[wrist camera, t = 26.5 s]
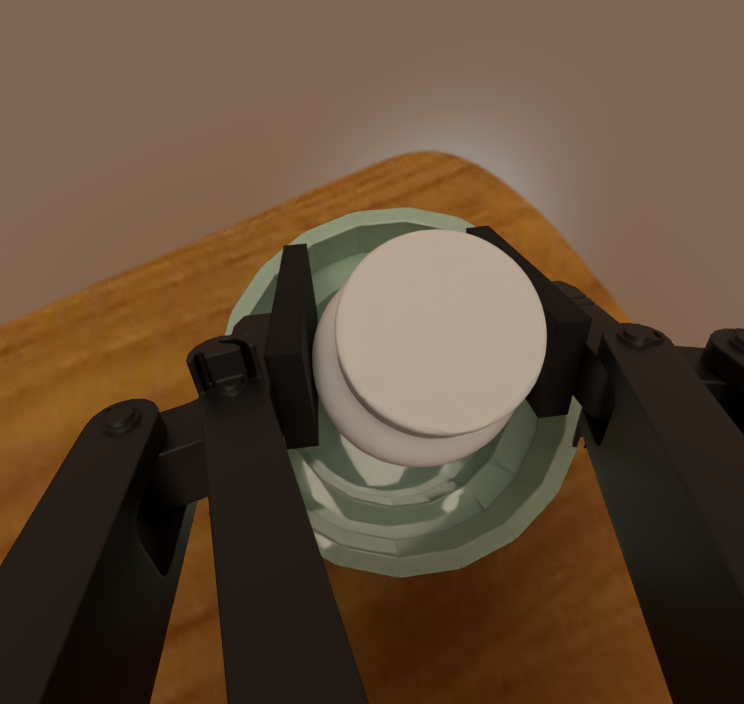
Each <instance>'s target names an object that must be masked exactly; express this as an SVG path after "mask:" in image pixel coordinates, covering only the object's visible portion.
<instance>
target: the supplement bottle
mask: <svg viewBox="0 0 744 704" xmlns="http://www.w3.org/2000/svg"><path fill="white" fill-rule="evenodd" d="M546 342H547V330H546V321H545V316H544V312H543V308H542V305H541V302H540V299H539V296H538V294H537V292H536V290H535V288H534V287H533V285H532V283H531V281H530V279H529V278H528V276H527V275H526V274H525V273H524V271H523V270H522V269H521V268H520V267H519V265H518V264H517V263H516V262H515V261H514V260H513V259H512V258H510V257H509V256H508V255H507V254H505V253H504V252H503V251H502V250H500V249H499V248H497V247H496V246H494V245H492V244H491V243H489V242H487V241H485V240H483V239H481V238H479V237H476V236H474V235H471V234H467V233H463V232H459V231H453V230H443V229H433V230H419V231H415V232H411V233H407V234H404V235H401V236H398V237H396V238H393V239H391V240H389V241H387V242H385V243H384V244H382V245H380V246H379V247H377V248H376V249H374V250H373V251H372V252H371V253H370V254H368V255H367V256H366V257H365V258H364V259H363V260H362V261H361V262H360V264H359V265H358V266H357V267H356V268H355V270H354V271H353V272H352V274H351V275H350V277H349V279H348V280H347V282H346V284H345V285H344V286H343V287H342V288H341V289H340V290H339V291H338V292H337V293H336V294H335V295H334V297H333V298H332V299H331V301H330V302H329V304H328V305H327V307H326V308H325V310H324V312H323V314H322V316H321V319H320V321H319V323H318V326H317V329H316V333H315V337H314V342H313V349H312V371H313V377H314V382H315V386H316V390H317V393H318V396H319V398H320V401H321V403H322V406H323V408H324V409H325V411H326V413H327V415H328V417H329V418H330V420H331V422H332V423H333V424H334V426H335V427H336V429H337V430H338V431H339V432H340V433H341V434H342V435H343V436H344V437H345V438H346V439H347V440H348V441H349V442H350V443H351V444H353V445H354V446H355V447H356V448H358V449H359V450H361V451H362V452H364V453H366V454H367V455H369V456H371V457H374V458H376V459H378V460H381V461H383V462H386V463H390V464H394V465H399V466H406V467H432V466H439V465H444V464H448V463H452V462H454V461H457V460H460V459H462V458H464V457H466V456H468V455H470V454H472V453H474V452H475V451H477V450H478V449H480V448H482V447H483V446H484V445H486V444H487V443H489V442H490V441H491V440H492V439H493V438H494V437H495V436H496V435H497V434H498V433H499V432H500V431H501V430H502V428H503V427H504V426H505V425H506V423H507V422H508V420H509V419H510V417H511V416H512V414H513V412H514V410H515V409H516V408H517V407H518V406H519V405H520V404H521V402H522V401H523V400H524V399H525V398H526V396H527V395H528V394H529V392H530V391H531V389H532V388H533V386H534V385H535V383H536V381H537V378H538V376H539V374H540V372H541V369H542V365H543V362H544V358H545V353H546Z"/></svg>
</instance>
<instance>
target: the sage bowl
mask: <svg viewBox="0 0 744 704" xmlns="http://www.w3.org/2000/svg"><path fill="white" fill-rule="evenodd" d="M470 227H476V226H474V225H472V224H470V223H468V222H466V221H465V220H463V219H461V218H459V219H458V217H455V216H450V215H445V214H440V213H435V212H430V211H425V210H420V209H415V208H410V207H407V208H405V207H403V208H392V209H381V210H370V211H360V212H354V214H353V213H350V214H347V215H345V216H342V217H340V218H337V219H335V220H333V221H330V222H328V223H325V224H323V225H320V226H318V227H315V228H313V229H310V230H308V231H305V232H304V233H302V234H301V235H300V236H298V237H297V238H296V239H295V240H293V241H292V242H291V243H290V244H289V245H296V244H306V243H307V249H308V256H309V262H310V269H311V275H312V282H313V288H314V295H315V302H316V308H317V315H318V323H319V321H320V319H321V316H322V314H323V312H324V310H325V308H326V307H327V305H328V304H329V302H330V301H331V299H332V298H333V297H334V295H335V294H336V293H337V292H338V291H339V290H340V289H341V288H342V287H343V286H344V285H345V284H346V282H347V280H348V279H349V277H350V275H351V274H352V272H353V271H354V270H355V268H356V267H357V266H358V265H359V264H360V262H361V261H362V260H363V259H364V258H365V257H366V256H367V255H368V254H370V253H371V252H372V251H373V250H374V249H376V248H377V247H379V246H380V245H382V244H384V243H385V242H387V241H389V240H391V239H393V238H396V237H398V236H401V235H404V234H407V233H411V232H415V231H419V230H433V229H443V230H453V231H459V232H463V233H466V228H470ZM282 253H283V249H282V250H281V251H280V252H279V253H277V254H276V255H275V256H274V257H273V258H271V259H270V260H269V261H268V262H266V263H265V264H264V265H263V266H262V267H261V268H260V269H259V271H258V272H257V274H256V275H255V277H254V278H253V280H252V281H251V283H250V284H249V286H248V287H247V289H246V290H245V292H244V293H243V295H242V296H241V298H240V299H239V301H238V303H237V304H236V306H235V307H234V309H233V310H232V312H231V315H230V318H229V321H228V325H227V328H226V332H225V335H231V334H232V331H233V328H234V325H235V324H236V323H237V322H239V321H240V320H241V319H242V318H243V317H244V316H246V315H256V314H265V313H271V312H272V306H273V301H274V296H275V290H276V285H277V279H278V274H279V269H280V263H281V258H282ZM581 408H582V406H581V405H580V404H579V402H578V401H577V400H576V399H575V397H574V396H572V400H571V404H570V408H569V412H568V415H561V416H553V417H545V418H538V417H537V416H536V414H535V413H534V411H533V410H532V408H531V407H530V405H529V403H528V402H527V400H526V399H524V400H523V401H522V402H521V404H520V405H519V406H518V407H517V408H516V409H515V410H514V412H513V414H512V416H511V417H510V419H509V420H508V422H507V423H506V425H505V426H504V427H503V428H502V430H501V431H500V432H499V433H498V434H497V435H496V436H495V437H494V438H493V439H492V440H491V441H490V442H489V443H487V444H486V445H484V446H483V447H482V448H480V449H478V450H477V451H475V452H474V453H472V454H470V455H468V456H466V457H464V458H462V459H460V460H457V461H454V462H452V463H448V464H444V465H439V466H432V467H406V466H399V465H394V464H390V463H386V462H383V461H381V460H378V459H376V458H374V457H371V456H369V455H367V454H366V453H364V452H362V451H361V450H359V449H358V448H356V447H355V446H354V445H353V444H351V443H350V442H349V441H348V440H347V439H346V438H345V437H344V436H343V435H342V434H341V433H340V432H339V431H338V430H337V429H336V427H335V426H334V424H333V423H332V422H331V420H330V418H329V417H328V415H327V413H326V411H325V409H324V408H323V406H322V403H321V401H320V398H319V396H318V428H319V446H314V447H306V448H298V449H290V450H287V451H288V454H289V457H290V461H291V464H292V467H293V470H294V473H295V476H296V479H297V482H298V485H299V488H300V492H301V495H302V498H303V501H304V504H305V507H306V510H307V513H308V516H309V519H310V523H311V526H312V529H313V532H314V535H315V538H316V541H317V544H318V547H319V551H320V554H321V557H323V558H324V559H326V560H328V561H330V562H331V563H333V564H337V565H338V566H342V567H347V568H352V569H357V570H362V571H367V572H372V573H377V574H382V575H387V576H392V577H398V576H399V577H400V578H402V577H409V576H416V575H423V574H430V573H437V572H443V571H450V570H457V569H460V568H463V567H465V566H467V565H469V564H471V563H473V562H475V561H476V560H478V559H480V558H482V557H484V556H486V555H488V554H490V553H492V552H493V551H495V550H497V549H499V548H501V547H503V546H505V545H507V544H509V543H510V542H512V541H514V540H515V539H517V538H518V537H519V536H520V535H521V533H522V532H523V531H524V530H525V529H526V528H527V527H528V526H529V525H530V524H531V523H532V521H533V520H534V519H535V518H536V517H537V516H538V515H539V514H540V513H541V512H542V511H543V510H544V508H545V507H546V506H547V505H548V504H549V503H550V502H551V501H552V500H553V499H554V498H555V496H556V495H557V494H558V492H559V489H560V487H561V485H562V482H563V480H564V478H565V476H566V473H567V471H568V469H569V466H570V464H571V462H572V460H573V457H574V455H575V453H576V450H577V448H578V447H577V448H576V447H572V440H573V436H574V433H575V429H576V425H577V422H578V418H579V415H580V411H581ZM283 439H284V436H283ZM284 442H285V440H284ZM579 443H580V441H579ZM579 443H578V446H579ZM285 445H286V444H285ZM514 538H515V539H514Z"/></svg>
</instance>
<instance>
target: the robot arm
mask: <svg viewBox="0 0 744 704" xmlns="http://www.w3.org/2000/svg"><path fill="white" fill-rule="evenodd" d="M466 233H467V234H471V235H474V236H476V237H479V238H481V239H483V240H485V241H487V242H489V243H491V244H492V245H494V246H496V247H497V248H499V249H500V250H502V251H503V252H504V253H505V254H507V255H508V256H509V257H510V258H512V259H513V260H514V261H515V262H516V263H517V264H518V265H519V267H520V268H521V269H522V270H523V271H524V273H525V274H526V275H527V276H528V278H529V279H530V281H531V283H532V285H533V287H534V288H535V290H536V292H537V294H538V296H539V299H540V302H541V305H542V308H543V312H544V316H545V321H546V330H547V342H546V353H545V358H544V362H543V365H542V369H541V372H540V374H539V376H538V378H537V381H536V383H535V385H534V386H533V388H532V389H531V391H530V392H529V394H528V395H527V396H526V398H525V399H526V400H527V402H528V403H529V405H530V407H531V408H532V410H533V411H534V413H535V414H536V416H537V417H538V418H545V417H553V416H561V415H568V412H569V408H570V404H571V400H572V396H574V397H575V399H576V400H577V401H578V402H579V404H580V405H581V406H582V408H581V411H580V415H579V418H578V422H577V425H576V429H575V433H574V436H573V440H572V447H576V448H577V447H578V443H579V440H580V438H581V437H582V436H583V438H584V441H585V445H584V448H587V450H588V453H589V456H590V459H591V462H592V465H593V468H594V471H595V474H596V477H597V480H598V483H599V486H600V489H601V492H602V495H603V497H604V500H605V503H606V506H607V509H608V512H609V515H610V518H611V521H612V524H613V527H614V530H615V533H616V536H617V539H618V542H619V545H620V548H621V551H622V554H623V557H624V560H625V563H626V566H627V569H628V571H629V574H630V577H631V580H632V583H633V586H634V589H635V592H636V595H637V598H638V601H639V604H640V607H641V610H642V613H643V616H644V619H645V622H646V625H647V628H648V631H649V634H650V637H651V640H652V643H653V645H654V648H655V651H656V654H657V657H658V660H659V663H660V666H661V669H662V672H663V675H664V678H665V681H666V684H667V687H668V690H669V693H670V696H671V699H672V702H673V704H744V329H741V328H737V329H721V330H717V331H715V332H714V333H713V334H711V335H710V338H709V340H708V342H707V344H706V347H705V348H696V347H683V346H674V344H673V343H672V342H671V340H670V339H669V338H668V337H666V336H665V335H664V334H663V333H662V332H660V331H658V330H655V329H653V328H651V327H647V326H643V325H640V324H632V323H619V322H617V321H616V320H615V319H614V318H612V317H611V316H610V315H609V314H608V313H606V312H605V311H604V310H603V309H602V308H600V307H599V306H598V305H595V303H594V302H593V301H592V300H591V299H589V298H586V295H585V294H583V293H582V292H581V291H580V290H578V289H577V288H576V287H574V286H571V285H569V284H567V283H564V282H562V281H553V282H551V281H550V280H549V279H548V278H547V277H546V276H544V275H543V274H542V273H541V272H540V271H539V270H538V269H537V268H535V267H534V266H533V265H532V264H531V263H530V262H529V261H527V260H526V259H525V258H524V257H523V256H522V255H521V254H520V253H518V252H517V251H516V250H515V249H514V248H513V247H512V246H511V245H509V244H508V243H507V242H506V241H505V240H504V239H503V238H501V237H500V236H499V235H498V234H497V233H496V232H495V231H494V230H492V229H491V228H490V227H489V226H480V227H470V228H466ZM317 326H318V315H317V308H316V302H315V295H314V288H313V282H312V275H311V269H310V262H309V256H308V249H307V243H306V244H296V245H286V246H284V247H283V253H282V258H281V263H280V269H279V274H278V279H277V285H276V290H275V296H274V301H273V306H272V312H271V313H265V314H256V315H246V316H244V317H243V318H242V319H241V320H240V321H239V322H237V323H236V324H235V325H234V328H233V331H232V334H231V335H225V336H219V337H215V338H212V339H209V340H207V341H205V342H203V343H201V344H199V345H198V346H196V347H195V348H194V349H193V350H192V351H191V352H190V353H189V354H188V357H187V360H186V362H187V365H188V367H189V370H190V373H191V375H192V378H193V381H194V383H195V386H196V389H197V392H198V394H199V398H198V399H196V400H194V401H192V402H190V403H187V404H185V405H182V406H179V407H176V408H173V409H169V410H166V411H163V412H160V411H159V409H158V407H157V406H156V405H155V403H154V402H152V401H149V400H146V399H131V400H127V401H123V402H119V403H116V404H114V405H111V406H109V407H107V408H105V409H104V410H102V411H101V412H99V413H98V414H96V415H95V416H94V417H93V418H92V419H91V420H90V421H89V422H88V423H87V424H86V426H85V427H84V429H83V430H82V432H81V434H80V435H79V437H78V439H77V440H76V442H75V444H74V445H73V447H72V448H71V450H70V452H69V453H68V455H67V457H66V458H65V460H64V462H63V463H62V465H61V467H60V468H59V470H58V472H57V473H56V475H55V477H54V478H53V480H52V481H51V483H50V485H49V486H48V488H47V490H46V491H45V493H44V495H43V496H42V498H41V500H40V501H39V503H38V505H37V506H36V508H35V510H34V511H33V513H32V514H31V516H30V518H29V519H28V521H27V523H26V524H25V526H24V528H23V529H22V531H21V533H20V534H19V536H18V538H17V539H16V541H15V543H14V544H13V546H12V547H11V549H10V551H9V552H8V554H7V556H6V557H5V559H4V561H3V562H2V564H1V566H0V704H150V700H151V696H152V692H153V688H154V683H155V679H156V675H157V671H158V666H159V662H160V658H161V654H162V649H163V645H164V641H165V637H166V632H167V628H168V624H169V620H170V615H171V611H172V607H173V603H174V598H175V594H176V590H177V586H178V582H179V577H180V573H181V569H182V565H183V560H184V556H185V552H186V548H187V543H188V539H189V535H190V531H191V526H192V522H193V518H194V514H195V509H196V505H197V500H200V499H203V498H205V497H208V500H209V510H210V521H211V531H212V542H213V553H214V563H215V574H216V584H217V595H218V606H219V616H220V627H221V637H222V648H223V658H224V669H225V680H226V690H227V701H228V704H369V703H368V699H367V696H366V693H365V690H364V687H363V684H362V681H361V678H360V675H359V672H358V668H357V665H356V662H355V659H354V656H353V653H352V650H351V647H350V644H349V640H348V637H347V634H346V631H345V628H344V625H343V622H342V619H341V616H340V613H339V609H338V606H337V603H336V600H335V597H334V594H333V591H332V588H331V585H330V582H329V578H328V575H327V572H326V569H325V566H324V563H323V560H322V557H321V554H320V551H319V547H318V544H317V541H316V538H315V535H314V532H313V529H312V526H311V523H310V519H309V516H308V513H307V510H306V507H305V504H304V501H303V498H302V495H301V492H300V488H299V485H298V482H297V479H296V476H295V473H294V470H293V467H292V464H291V461H290V457H289V454H288V451H287V450H290V449H298V448H306V447H314V446H319V428H318V393H317V390H316V386H315V382H314V377H313V371H312V349H313V342H314V337H315V333H316V329H317ZM283 436H284V439H283ZM284 440H285V442H284ZM285 444H286V445H285Z"/></svg>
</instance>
